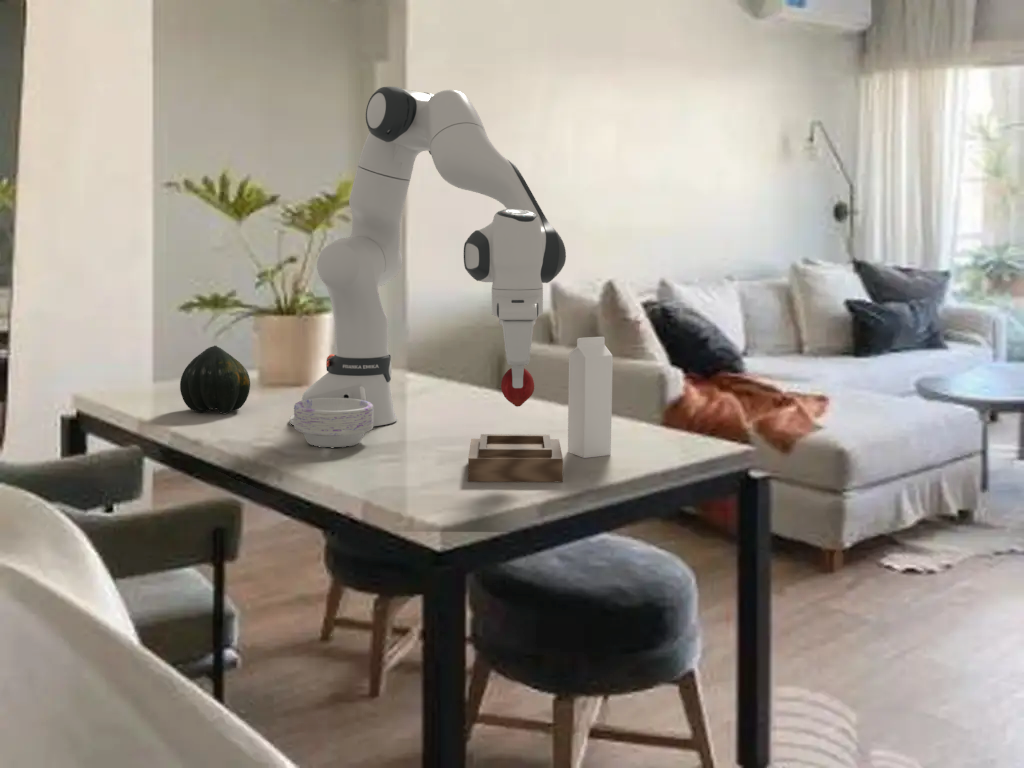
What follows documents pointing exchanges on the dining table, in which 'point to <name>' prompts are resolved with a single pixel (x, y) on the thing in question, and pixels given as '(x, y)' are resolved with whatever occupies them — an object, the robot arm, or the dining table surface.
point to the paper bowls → (333, 421)
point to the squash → (214, 382)
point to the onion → (517, 394)
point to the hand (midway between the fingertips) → (517, 384)
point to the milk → (590, 398)
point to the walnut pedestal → (515, 458)
